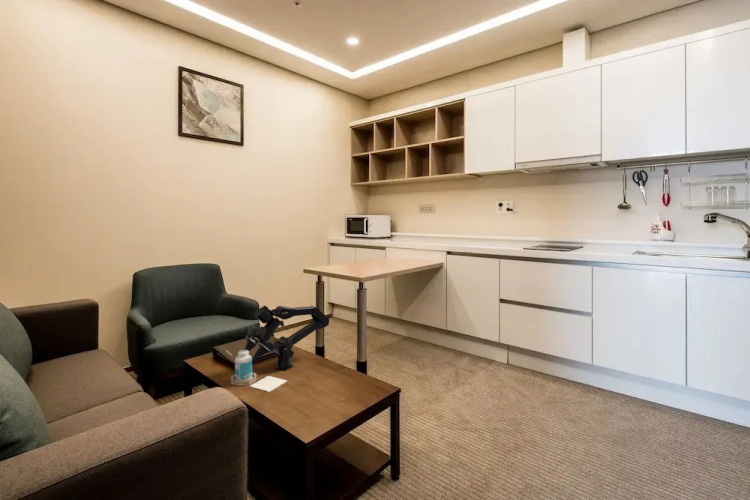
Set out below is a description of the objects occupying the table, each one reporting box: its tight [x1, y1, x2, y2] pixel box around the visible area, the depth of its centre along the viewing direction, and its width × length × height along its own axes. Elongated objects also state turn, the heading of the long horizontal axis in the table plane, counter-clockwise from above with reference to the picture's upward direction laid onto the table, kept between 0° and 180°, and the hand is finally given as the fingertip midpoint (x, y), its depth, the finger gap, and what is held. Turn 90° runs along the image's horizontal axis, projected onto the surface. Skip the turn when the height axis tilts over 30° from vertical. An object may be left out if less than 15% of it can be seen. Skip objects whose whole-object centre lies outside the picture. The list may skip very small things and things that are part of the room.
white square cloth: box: [249, 375, 288, 393], centre depth 167 cm, size 12×11×1 cm
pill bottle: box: [234, 349, 253, 381], centre depth 170 cm, size 8×7×14 cm
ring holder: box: [230, 371, 258, 387], centre depth 171 cm, size 11×11×2 cm
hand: (248, 357), depth 172 cm, fingers open, 9 cm apart
